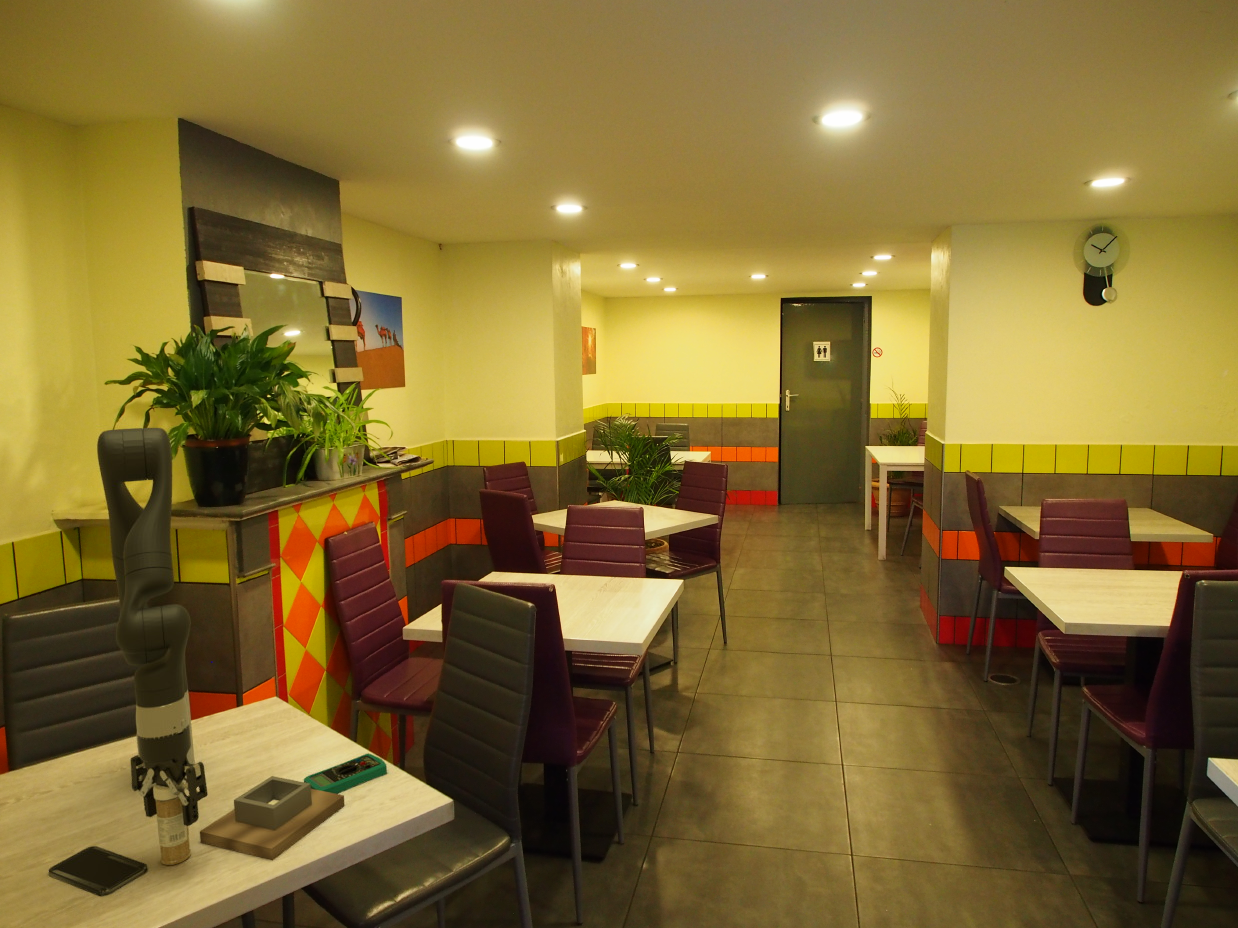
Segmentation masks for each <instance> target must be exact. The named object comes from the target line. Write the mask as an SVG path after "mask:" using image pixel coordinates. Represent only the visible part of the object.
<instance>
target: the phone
mask: <svg viewBox="0 0 1238 928" xmlns="http://www.w3.org/2000/svg"><path fill="white" fill-rule="evenodd" d="M147 872H148V864H147V863H143V862H141V861H138V860H136V859H133V858H131V857H128V856H125V855H122V854H119V853H116V852H114V851H111V850H108V849H105V848H103V847H100V846H97V845H92V846H91V845H90V846H88V847H86V848H84V849H82V850H81V851H79V852H77V853H75V854H73V855H71V856H69V857H67V858H66V859H64V860H62V861H60V862H58V863H57V864H54V865H53V866H51V867H50V868H49V869H48V876H49V877H51V878H54V879H56V880H59V881H61V882H63V883H66V884H68V885H71V886H74V887H76V888H78V889H81V890H84V891H86V892H89V893H91V894H94V895H96V896H98V897H107V896H110V895H112V894H113V893H114V892H116V891H118V890H120V889H122V888H123V887H125V886H126V885H128V884H130V883H131V882H133V881H134V880H136V879H138V878H140V877H141V876H143V875H145V874H146V873H147Z"/></svg>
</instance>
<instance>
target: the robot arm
mask: <svg viewBox="0 0 1238 928" xmlns="http://www.w3.org/2000/svg"><path fill="white" fill-rule="evenodd" d="M96 446H97V447H96V449H97V450H96V451H97V460H98V466H99V472H100V477H101V483H102V486H103V491H104V492H103V493H104V496H105V501H106V506H107V512H108V522H109V533H110V534H109V535H110V545H111V557H112V563H113V571H114V576H115V582H116V587H117V592H118V593H117V594H118V595H117V596H118V601H119V603H118V605H119V618H118V621H117V625H116V630H115V641H116V644H117V646H118V648H119V649H120V650H121V651H122V655H123V658H124V660H125V662H126V663H127V664H128V665H129V666H140V667H139V668H137V669H136V670H135V671H134V674H133V684H134V697H135V705H136V706H135V707H136V708H135V709H136V710H135V725H136V736H135V737H136V745H137V754H136V755H134V756H132V757H130V773H131V774H130V775H131V776H130V777H131V788H132V791H134V792H138V791H139V794H140V795H141V796H142V797H143V806H144V808H143V809H144V812H145V816H146V817H147V818H153V817H154V816H157V809H156V801H155V798H154V793H153V787H154V785H155V784H157V785H159V786H165V787H168V788H170V789H171V791H172V793H173V794H174V795H178V797H179V798H180V800H181V802H182V803H183V805H182V812H183V823H184V825H185V826H188V827H190V826H191V825H194V824H195V823H197V821H198V820H199V816H200V815H199V806H198V804H199V803H198V802H199V801H201V800H203V799H204V798H207V796H208V795H209V793H208V787H207V786H208V785H207V781H206V780H207V779H206V774H205V773H206V772H205V764H204V763H203V762H202V761H199V762H197V763H196V762H195V750H194V740H193V739H194V738H193V727H192V719H191V718H192V717H191V706H190V695H189V685H188V677H187V668H186V649H187V648H186V647H187V644H188V639H189V636H190V632H191V625H192V622H191V621H192V620H191V616H190V614H189V611H188V610H187V609H186V608H185V607H184V606H183V605H181V604H175V603H173V604H166V605H161V606H159V605H158V606H152V607H145V606H146V604H147V603H148V601H149V600H150V599H153V598H155V597H159V596H161V595H163V594H166V593H168V592H170V591H171V590H172V589H173V587H174V585H175V584H174V583H175V579H174V577H175V575H174V566H173V555H172V542H171V540H172V539H171V525H172V510H173V509H172V507H173V505H172V504H173V503H172V502H173V454H172V445H171V440H170V436H169V434H168V432H167V431H166V430H165V429H163V428H161V427H143V428H142V427H138V428H137V427H135V428H119V429H108V430H104V431H101V433H100V434H99V436H98V438H97V444H96ZM142 481H143V482H145V481H152V485H151V493H150V496H149V498H148V501H147V502H146V504H145V506H144V508H143V507H142V506H141V505H140V503H138V502H137V501H136V499H135V498H134V497H133V495H132V494H131V492H130V491H129V488H128V486H127V485H126V482H127V483H129V482H130V483H131V482H142ZM183 780H184V785H182V786H178V784H180V783H181V782H182V781H183ZM184 790H185V792H184ZM186 790H187V791H188V794H189V795H187V793H186Z"/></svg>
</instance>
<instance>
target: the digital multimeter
mask: <svg viewBox="0 0 1238 928" xmlns="http://www.w3.org/2000/svg"><path fill="white" fill-rule="evenodd" d="M387 771H388V770H387V763H386V762H385V761H384V760H383V759H382V758H380V757H379V756H376V755H374V754H372V753H365V754H362V755H360V756H358V757H354V758H353V759H350V760H348V761H344V762H342V763H340V764H337V765H334V766H332V767H329V768H326V769H323V770H320V771H318V772H315V773H313V774H308V775H307V776H305V777H304V779H303V782H304V783H309V784H311V789H315V790H320V791H325V792H330V793H334V794H340V793H342V792H344V791H346V790H349V789H352V788H353V787H356V786H359V785H361V784H363V783H366V782H367V783H368V781H371V780H375V779H377V778H379V777H382V776H385V775H387V773H388V772H387Z"/></svg>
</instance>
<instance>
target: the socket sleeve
mask: <svg viewBox="0 0 1238 928" xmlns="http://www.w3.org/2000/svg"><path fill="white" fill-rule="evenodd" d="M272 800H279V801H278V802H277V803H275V804H274V805H272V804H268V803H269V802H271V801H272ZM310 805H312V798H311V784H309V783H304V781H298V780H294V779H290V778H289V779H288V778H284V777H279V776H274V775H271V776H270V777H268V778H266V779H265V780H263V781H261V782H260V783H258V784H257V785H256V786H254V787H252V788H251V789H249V790H247V791H246V792H244V793H243V794H241V795H239V796H238V797H236V798H235V799H233V810H234V809H235V821H236V822H241V823H245V824H249V825H254V826H258V827H262V828H267V829H271V830H277V829H278V828H280V827H281V826H282V825H284V824H285V823H287V822H288V821H289V820H291V819H292V818H294V817H295V816H296V815H298V814H299V813H301V812H302V811H303V810H305V809H306V808H308V807H309V806H310Z"/></svg>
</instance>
